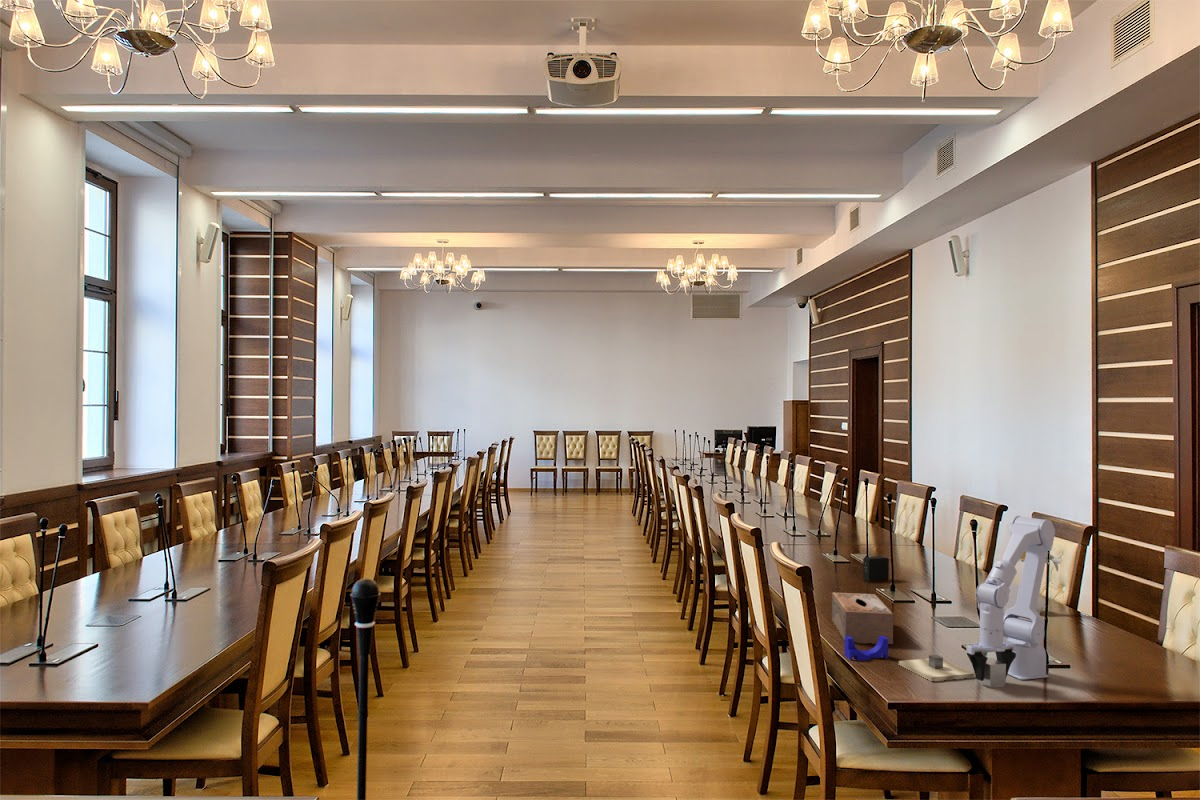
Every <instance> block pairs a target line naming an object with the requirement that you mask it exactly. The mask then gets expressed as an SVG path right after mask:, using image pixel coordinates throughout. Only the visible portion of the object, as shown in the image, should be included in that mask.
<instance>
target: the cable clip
mask: <svg viewBox="0 0 1200 800" xmlns="http://www.w3.org/2000/svg"><path fill="white" fill-rule="evenodd" d="M844 656H845V657H846V658H847V659H848V660H849V659H850V660H849V661H854V660H853V659H852V657H854V659H856V660H855V661H871V659H870V658H888V659H889V645H888V638H886V637H885V636H879V640H878V643H877V644H875V645H874V646H873V647H872V648H871V649H868V650H861V649H858V648H857V647H856V645H855V643H854V641H853V638H852V637H850V636H845V641H844ZM881 656H883V657H881Z"/></svg>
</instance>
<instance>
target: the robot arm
mask: <svg viewBox="0 0 1200 800" xmlns="http://www.w3.org/2000/svg"><path fill="white" fill-rule="evenodd" d="M1008 529H1009V535H1010V539H1009V540H1008V543H1007V546H1006V547H1005V548H1006V549H1005V551H1004V553H1003V556H1002V559H1000V560H996V561H995V562H994V564H993V566H992V568H991V570H990V571H989V574H988V575H987V577H986V579H985V581H984V582H982V583H980V584H979V585H977V587H976V590H975V593H974V594H975V595H974V597H975V600H976V602H977V608H978V610H979V642H975V643H972V644H966V647H965V648H966V655H967V657H968V658H969V661H970V663H971V666H972V669H973V673H974V677H975V680H977V679H978V680H980V681H983V680H984V670H985V665H986V661H987V659H988V657H987V656H985V655H984V654H985V653H992V652H993V653H995V655H996V657H995V658H996V660H998V661H1000V662H1003V663H1005V664H1006V678H1007V676H1008V675H1009V676H1011V677H1013V678H1016V679H1018V680H1021V681H1024V680H1034V679H1045V678H1049V675H1048V674H1047V653H1046V649H1045V647H1044V645H1042V643H1043V641H1044V639H1045V619H1044V618H1043V616H1042V615H1040V614H1039V613H1038V612H1037V611H1036V607H1037V602H1038V597H1039V595H1040V591H1041V588H1042V581H1043V578H1044V577H1043V576H1044V571H1045V566H1046V563H1045V562H1046V557H1047V552H1048V551H1049V552H1051V551H1052V549H1053V545H1054V540H1055V535H1056V529H1055V526H1054V524H1053V522H1052V521H1051V520H1050V519H1042V518H1035V517H1028V516H1027V517H1026V516H1022V515H1015V516H1013V518H1012V519H1011V521H1010V525H1009V528H1008ZM1025 550H1026V556H1025V561H1024V562H1023V567H1022V571H1021V577H1020V582H1019V586H1018V590H1017V597H1016V601H1015V605H1013V606H1011V607H1010V608H1008V609H1007V608H1006V610H1004V608H1005V607H1006V605H1007V604H1008V603H1009V599H1010V598H1009V597H1010V592H1011V589H1010V586H1011V585H1012V582H1013V580H1014V578H1015V577H1016V576H1017V569H1016V565H1017V563H1018V562H1019V559H1020V558H1021V556H1022V554H1023V553H1024V551H1025ZM1049 552H1048V553H1049ZM1004 611H1005V612H1004Z"/></svg>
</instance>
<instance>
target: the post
mask: <svg viewBox="0 0 1200 800" xmlns="http://www.w3.org/2000/svg"><path fill="white" fill-rule="evenodd" d="M928 658H929V666H930V667H932V668H934V669H940V668H943V659H944V657H942V656H940V655H938V654H931V655H928Z"/></svg>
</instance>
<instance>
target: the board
mask: <svg viewBox="0 0 1200 800" xmlns="http://www.w3.org/2000/svg"><path fill="white" fill-rule="evenodd" d="M899 665H900V666H899ZM898 666H899V667H901V666H902V667H901V668H903V667H904V669H905V668H906V669H905V670H907V669H908V671H909V670H910V672H911V671H912V672H911V673H913V672H914V673H913V674H915V673H916V674H915V675H917V674H918V675H917V676H919V675H920V676H919V677H921V676H922V678H923V677H924V678H923V679H925V678H926V679H925V680H927V679H928V680H927V681H929V680H930V681H929V682H931V681H935V682H945V681H944V680H946V681H953V680H952V679H956V680H963V679H964V678H967V679H974V678H975V672H974V671H973V672H972V671H970V670H968V669H966V668H963V667H961V666H960V665H957V664H956V663H953V662H951V661H948V660H946V659H944V658H943V668H940V669H934V668H932V667H930V666H929V657H928V658H918V659H908V660H907V659H906V660H905V659H904V660H898ZM964 680H965V679H964Z"/></svg>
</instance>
